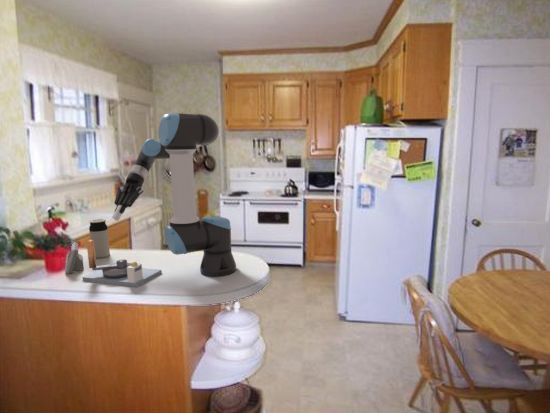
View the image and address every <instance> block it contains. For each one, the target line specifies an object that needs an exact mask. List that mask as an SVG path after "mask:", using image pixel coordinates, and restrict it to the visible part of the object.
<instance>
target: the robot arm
mask: <svg viewBox="0 0 550 413" xmlns="http://www.w3.org/2000/svg"><path fill="white" fill-rule="evenodd" d="M219 132H220V131H219V126H218V123H217V122H216V121H215V120H214V119H213V118H212V117H211V116H208V115H206V114H202V113H201V114H200V113H196V114H195V113H179V112H176V113H175V112H174V113H166V114H164V115H163V116H162V118H160V122H159V126H158V139H159V141H158V140H157V139H155V138H147V139H146V140H145V142H144V143H143V144H142V146H141V149H140V152H139V153H138V156H137V158H136V160H135V162H134V164H133V166H132V167H131V169H130V170H129V173H128V175H127V176H126V178H125V184H123V186H118V187H117V188H116V189H117V192H116V195H115V199H114V205H115V206H116V207H115V209H114V212H113V214H112V218H113V220H114V221H116V222H117V221H119V220H120V218H121V217H122V215H123V214H124V213H125V211H126V209H127V208H131V207H132V206H133V204H134V203H135V202H136V201H137V200H138V198H139V197H140V195H141V194H142V193H144V190H143V189H142V187H143V184H144V182H145V181H146V179H147V176H148V175H149V172H150V170H151V169H152V166H153V164H154V163H155V161H156V160H163V159H167V160H168V159H169V164H170V165H169V167H170V168H169V169H170V183H171V184H170V185H171V199H172V200H171V202H172V217H171V218H170V219H169V225H167V226H166V227H165V229H164V237H165V241H166V244H167V247H168V249H169V251H171V253H172V254H173V255H187V254H190V253H195V252H200V251H203V255H202V259H201V262H200V266H199V268H200V273H201V274H202V275H203V276H206V277H224V276H228V275H231V274H234V273H235V272H236V271H237V264H236V261H235V258H234V255H233V252H232V231H231V230H232V227H231V220H230V219H228V218H226V217H222V216H212V215H208V216H203V217H202V218H201V219H200V218H199V217H198V216H197V215H196V197H195V195H196V194H195V193H196V192H195V179H194V178H195V175H194V174H195V173H194V157H193V155H194V153H195V152H196V151H197V149H198V148H200V147H202V146H203V147H206V146H209V145H211V144H213V143H215V142H216V140H217V139H218V137H219Z"/></svg>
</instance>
